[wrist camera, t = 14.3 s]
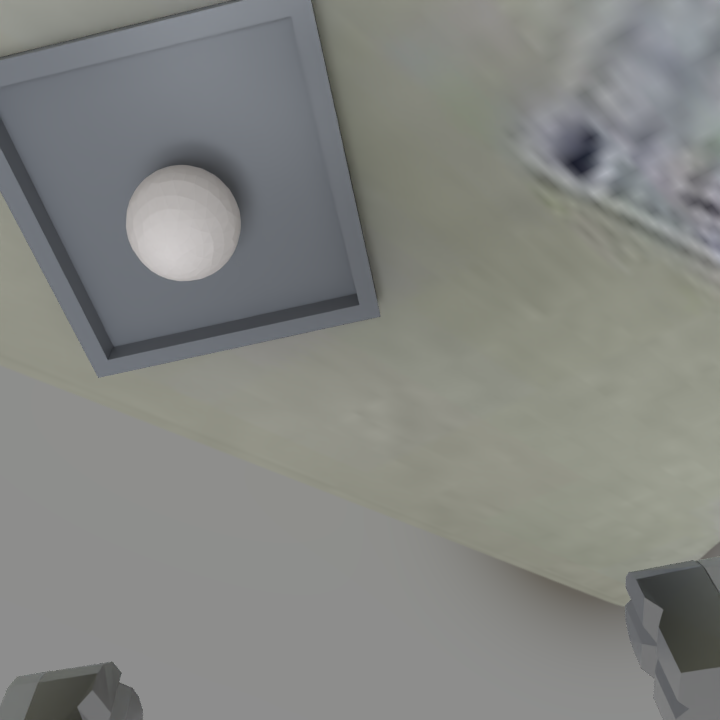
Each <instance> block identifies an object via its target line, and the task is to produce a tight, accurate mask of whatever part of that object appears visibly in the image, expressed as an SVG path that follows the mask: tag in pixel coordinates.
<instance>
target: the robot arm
mask: <svg viewBox="0 0 720 720" xmlns="http://www.w3.org/2000/svg"><path fill="white" fill-rule="evenodd" d="M626 589H627V591H628V594H629V596H630V598H631V600H630V601H629V602H628V603H627V604H626V605H625V616H626V624H627V629H628V634H629V638H630V641H631V644H632V647H633V650H634V653H635V655H636V657H637V660H638V662H639V665H640V667H641V669H642V670H644V671H645V672H646V673H648V674H649V675H650V676H652V677H653V678H654V679H655V680H654V700H655V702H656V704H657V707H658V709H659V711H660V714H661V716H662V718H663V720H720V556H719V557H713V558H708V559H703V560H698V561H694V560H691V561H686V562H681V563H675V564H670V565H665V566H660V567H654V568H649V569H644V570H638V571H633V572H629V573H628V574H627V576H626ZM120 677H121V671H120V670H119V669H118V668H117V667H116V665H115V664H114V663H113V662H107V663H100V664H94V665H88V666H82V667H75V668H69V669H63V670H56V671H47V672H42V673H36V674H30V675H24V676H19V677H17V678H16V679H15V680H14V681H13V682H12V683H11V685H10V686H9V687H8V689H7V691H6V693H5V696H4V698H3V700H2V703H1V705H0V720H143V709H142V706H141V703H140V700H139V696H138V695H137V694H136V692H135V691H134V689H133V688H131V687H129V686H127V685H124V684H122V683H120V682H119V681H120Z"/></svg>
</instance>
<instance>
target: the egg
mask: <svg viewBox="0 0 720 720" xmlns="http://www.w3.org/2000/svg"><path fill="white" fill-rule="evenodd" d="M126 230H127V235H128V240H129V242H130V245H131V247H132V249H133V251H134V252H135V254H136V255H137V256H138V258H139V259H140V261H141V262H142V263H143V264H144V265H145V266H146V267H147V268H149V269H150V270H151V271H152V272H154V273H156V274H157V275H159V276H161V277H164V278H166V279H170V280H175V281H192V280H198V279H202V278H205V277H207V276H210V275H212V274H214V273H215V272H217V271H218V270H220V269H221V268H222V267H223V266H224V265H225V264H226V263H227V262H228V260H229V259H230V257H231V256H232V255H233V253H234V250H235V248H236V246H237V243H238V239H239V235H240V231H241V219H240V211H239V208H238V205H237V203H236V200H235V198H234V196H233V195H232V193H231V191H230V189H229V188H228V187H227V186H226V185H225V184H224V183H223V182H222V181H221V180H220V179H219V178H218V177H216V176H215V175H214V174H212V173H210V172H208V171H206V170H204V169H202V168H198V167H194V166H189V165H173V166H168V167H165V168H162V169H159V170H157V171H155V172H154V173H152V174H151V175H149V176H148V177H146V178H145V179H144V180H143V181H142V182H141V183H140V184H139V186H138V187H137V188H136V190H135V191H134V193H133V195H132V197H131V199H130V201H129V205H128V208H127V215H126Z"/></svg>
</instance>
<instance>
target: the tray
mask: <svg viewBox="0 0 720 720" xmlns="http://www.w3.org/2000/svg"><path fill="white" fill-rule="evenodd" d="M173 165H189V166H194V167H198V168H202V169H204V170H206V171H208V172H210V173H212V174H214V175H215V176H216V177H218V178H219V179H220V180H221V181H222V182H223V183H224V184H225V185H226V186H227V187H228V188H229V189H230V191H231V193H232V195H233V196H234V198H235V200H236V203H237V205H238V208H239V211H240V219H241V231H240V235H239V239H238V243H237V246H236V248H235V250H234V253H233V255H232V256H231V257H230V259H229V260H228V262H227V263H226V264H225V265H224V266H223V267H222V268H221V269H220V270H218V271H217V272H215V273H214V274H212V275H210V276H207V277H205V278H202V279H198V280H192V281H175V280H170V279H166V278H164V277H161V276H159V275H157V274H156V273H154V272H152V271H151V270H150V269H149V268H147V267H146V266H145V265H144V264H143V263H142V262H141V261H140V259H139V258H138V256H137V255H136V254H135V252H134V251H133V249H132V247H131V245H130V242H129V240H128V235H127V230H126V215H127V208H128V205H129V201H130V199H131V197H132V195H133V193H134V191H135V190H136V188H137V187H138V186H139V184H140V183H141V182H142V181H143V180H144V179H145V178H146V177H148V176H149V175H151V174H152V173H154V172H155V171H157V170H159V169H162V168H165V167H168V166H173ZM0 191H1V193H2V195H3V197H4V199H5V201H6V203H7V205H8V207H9V209H10V210H11V212H12V214H13V216H14V218H15V220H16V222H17V224H18V226H19V228H20V229H21V231H22V233H23V235H24V237H25V239H26V241H27V243H28V245H29V247H30V249H31V250H32V252H33V254H34V256H35V258H36V260H37V262H38V264H39V266H40V268H41V269H42V271H43V273H44V275H45V277H46V279H47V281H48V283H49V285H50V287H51V288H52V290H53V292H54V294H55V296H56V298H57V300H58V302H59V304H60V306H61V308H62V309H63V311H64V313H65V315H66V317H67V319H68V321H69V323H70V325H71V327H72V328H73V330H74V332H75V334H76V336H77V338H78V340H79V342H80V344H81V346H82V348H83V349H84V351H85V353H86V355H87V357H88V359H89V361H90V363H91V365H92V367H93V368H94V370H95V372H96V374H97V376H98V378H99V377H104V376H109V375H113V374H118V373H123V372H127V371H132V370H136V369H141V368H146V367H150V366H155V365H159V364H164V363H169V362H173V361H178V360H182V359H187V358H192V357H196V356H201V355H205V354H210V353H215V352H219V351H224V350H228V349H233V348H238V347H242V346H247V345H251V344H256V343H261V342H265V341H270V340H275V339H279V338H284V337H288V336H293V335H298V334H302V333H307V332H311V331H316V330H321V329H325V328H330V327H334V326H339V325H344V324H348V323H353V322H357V321H362V320H367V319H371V318H376V317H380V311H379V306H378V301H377V296H376V292H375V287H374V283H373V278H372V274H371V269H370V265H369V260H368V256H367V251H366V246H365V242H364V237H363V233H362V228H361V224H360V219H359V215H358V210H357V206H356V201H355V197H354V192H353V187H352V183H351V178H350V174H349V169H348V165H347V160H346V156H345V151H344V147H343V142H342V137H341V133H340V128H339V124H338V119H337V115H336V110H335V106H334V101H333V97H332V92H331V88H330V83H329V78H328V74H327V69H326V65H325V60H324V56H323V51H322V47H321V42H320V38H319V33H318V28H317V24H316V19H315V15H314V10H313V6H312V1H311V0H231V1H227V2H223V3H219V4H215V5H211V6H207V7H203V8H199V9H195V10H191V11H187V12H182V13H178V14H174V15H170V16H166V17H162V18H158V19H154V20H150V21H146V22H142V23H138V24H134V25H130V26H126V27H122V28H118V29H114V30H110V31H105V32H101V33H97V34H93V35H89V36H85V37H81V38H77V39H73V40H69V41H65V42H61V43H57V44H53V45H49V46H45V47H41V48H37V49H33V50H28V51H24V52H20V53H16V54H12V55H8V56H4V57H0Z"/></svg>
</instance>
